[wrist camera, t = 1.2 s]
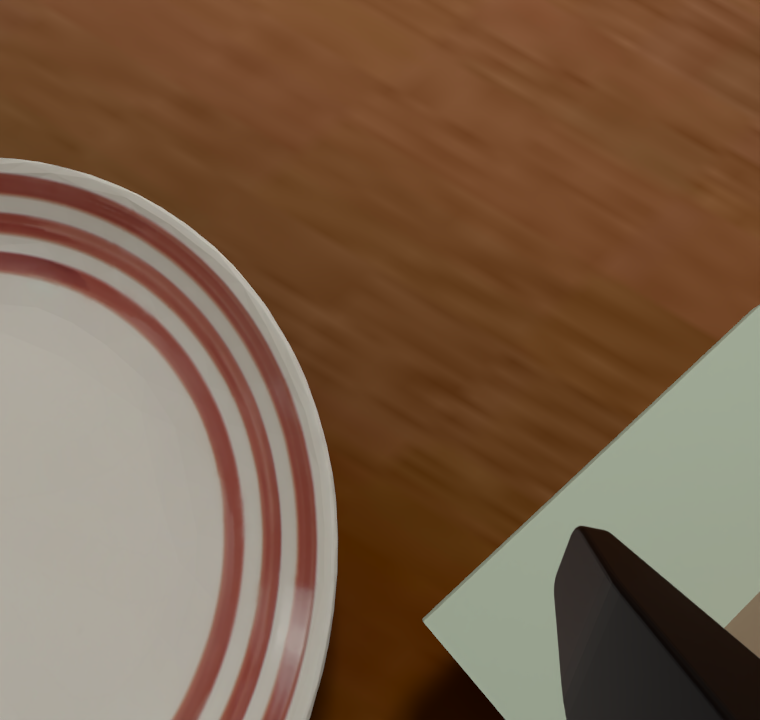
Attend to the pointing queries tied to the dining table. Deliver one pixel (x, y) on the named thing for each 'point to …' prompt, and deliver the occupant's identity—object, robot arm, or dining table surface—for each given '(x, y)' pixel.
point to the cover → (629, 530)
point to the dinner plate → (150, 471)
